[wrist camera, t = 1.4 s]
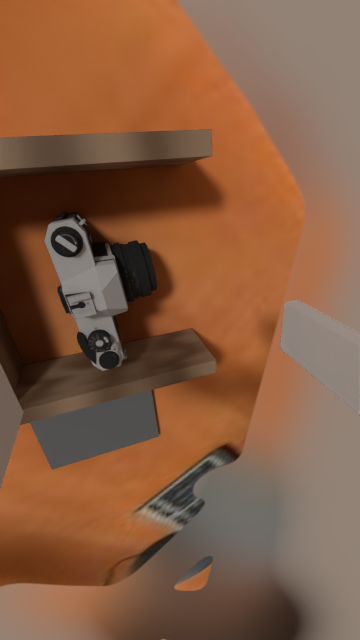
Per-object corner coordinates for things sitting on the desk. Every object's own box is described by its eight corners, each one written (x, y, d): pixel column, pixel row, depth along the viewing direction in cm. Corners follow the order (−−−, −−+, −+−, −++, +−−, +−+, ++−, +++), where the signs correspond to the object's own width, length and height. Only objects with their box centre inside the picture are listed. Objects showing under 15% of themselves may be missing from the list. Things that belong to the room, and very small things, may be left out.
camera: (161, 320, 30) (186, 357, 22) (93, 343, 29) (94, 391, 21) (127, 198, 25) (143, 189, 17) (42, 218, 24) (16, 219, 16)
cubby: (13, 380, 28) (-8, 432, 22) (-89, 159, 19) (-172, 144, 13) (192, 338, 33) (216, 372, 27) (180, 144, 23) (211, 129, 17)
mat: (52, 465, 34) (52, 469, 34) (19, 394, 29) (18, 398, 28) (158, 432, 38) (158, 436, 37) (146, 363, 32) (147, 366, 32)
